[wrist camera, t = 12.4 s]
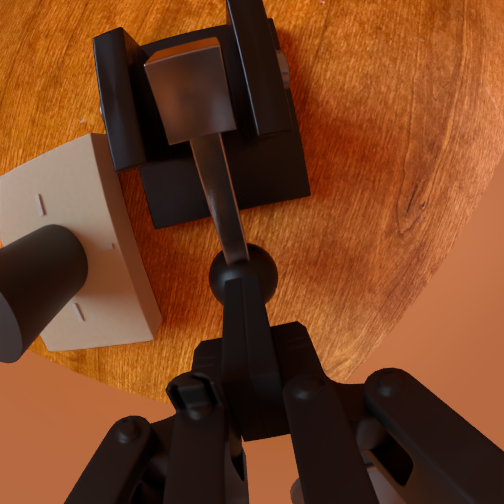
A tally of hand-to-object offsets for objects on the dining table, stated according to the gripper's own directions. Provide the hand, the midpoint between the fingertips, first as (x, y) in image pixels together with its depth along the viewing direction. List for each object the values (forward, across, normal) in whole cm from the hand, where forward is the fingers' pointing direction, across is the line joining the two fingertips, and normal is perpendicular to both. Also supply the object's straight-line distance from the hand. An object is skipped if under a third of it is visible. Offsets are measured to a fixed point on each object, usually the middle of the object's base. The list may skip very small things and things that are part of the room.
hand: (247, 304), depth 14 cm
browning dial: (+5, -12, +3) cm, 13 cm away
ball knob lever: (+2, 0, +5) cm, 6 cm away
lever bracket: (+8, 0, +9) cm, 12 cm away
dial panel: (+8, -12, +3) cm, 15 cm away
